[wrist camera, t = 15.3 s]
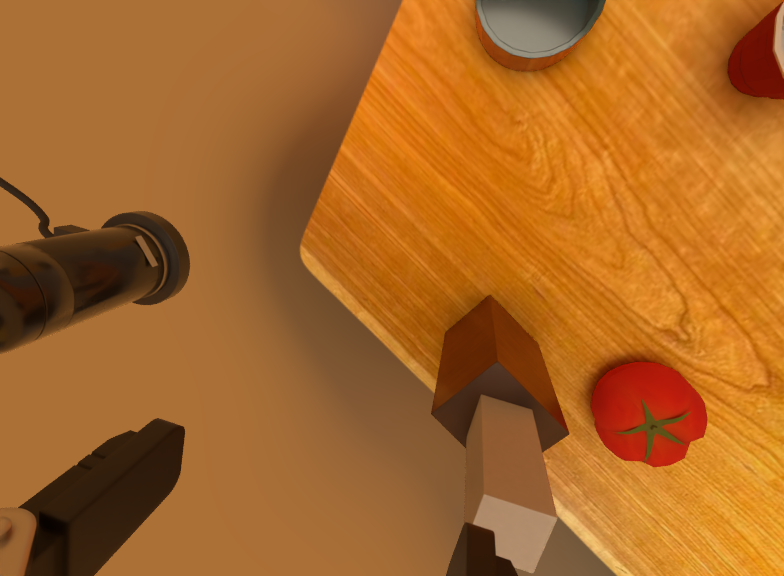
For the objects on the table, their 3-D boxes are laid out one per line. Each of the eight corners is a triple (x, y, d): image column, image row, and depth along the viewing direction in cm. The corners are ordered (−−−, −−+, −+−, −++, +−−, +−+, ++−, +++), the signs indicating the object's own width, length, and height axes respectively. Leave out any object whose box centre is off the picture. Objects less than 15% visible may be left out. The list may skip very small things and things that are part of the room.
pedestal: (444, 332, 53) (430, 414, 36) (489, 294, 51) (497, 360, 33) (491, 380, 53) (499, 482, 36) (538, 343, 51) (570, 434, 34)
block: (466, 436, 36) (462, 550, 25) (481, 393, 34) (483, 494, 24) (516, 452, 35) (533, 574, 25) (532, 409, 34) (557, 518, 24)
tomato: (641, 333, 49) (669, 362, 42) (707, 403, 50) (745, 443, 42) (561, 390, 52) (575, 425, 45) (624, 454, 53) (647, 500, 46)
